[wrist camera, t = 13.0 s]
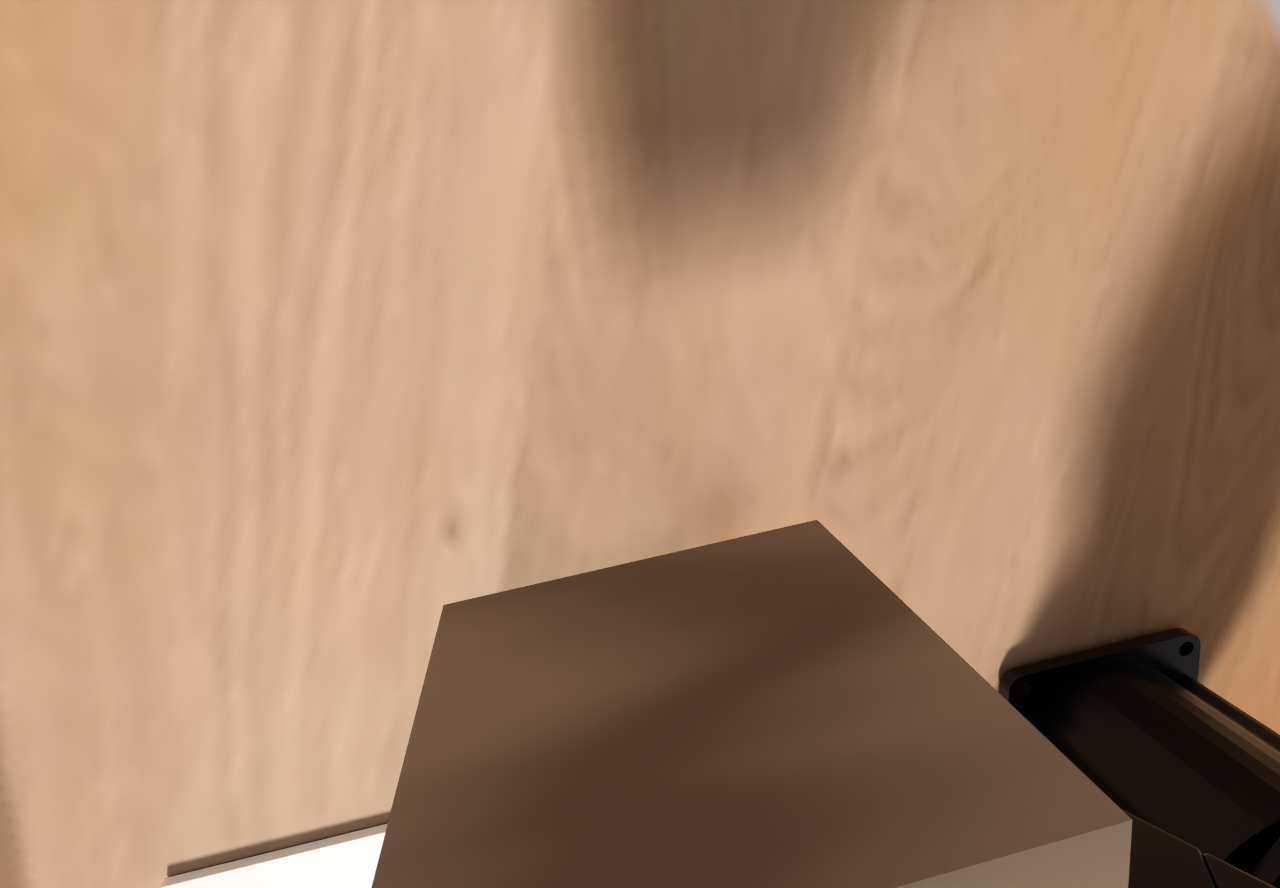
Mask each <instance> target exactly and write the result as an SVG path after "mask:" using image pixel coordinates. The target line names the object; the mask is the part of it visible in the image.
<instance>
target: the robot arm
mask: <svg viewBox="0 0 1280 888" xmlns="http://www.w3.org/2000/svg"><path fill="white" fill-rule="evenodd" d="M1200 646H1201V645H1200V640H1199V638H1198V637H1197V636H1195V635H1193V634H1192V633H1190V632H1188V631H1187V630H1185V629H1182V628H1175V629H1171V630H1167V631H1163V632H1159V633H1155V634H1151V635H1147V636H1143V637H1138V638H1134V639H1130V640H1126V641H1122V642H1118V643H1114V644H1110V645H1106V646H1102V647H1098V648H1094V649H1089V650H1085V651H1081V652H1077V653H1073V654H1069V655H1065V656H1061V657H1057V658H1053V659H1049V660H1045V661H1041V662H1036V663H1032V664H1028V665H1024V666H1020V667H1016V668H1013V669H1011V670H1009V671H1008V672H1007V673H1005V674H1004V676H1003V678H1002V679H1001V683H1000V695H1002V696H1003V697H1004V698H1005V699H1006V700H1007V701H1008V702H1009V703H1010V704H1011V705H1012V706H1013V707H1014V708H1015V709H1016V710H1017V711H1018V712H1019V713H1020V714H1022V715H1023V716H1024V717H1025V718H1026V719H1027V720H1028V721H1029V722H1030V723H1031V724H1032V725H1033V726H1034V727H1035V728H1036V729H1037V730H1038V731H1039V732H1040V733H1041V734H1043V735H1044V736H1045V737H1046V738H1047V739H1048V740H1049V741H1050V742H1051V743H1052V744H1053V745H1054V746H1055V747H1056V748H1057V749H1058V750H1059V751H1060V752H1061V753H1063V754H1064V755H1065V756H1066V757H1067V758H1068V759H1069V760H1070V761H1071V762H1072V763H1073V764H1074V765H1075V766H1076V767H1077V768H1078V769H1079V770H1080V771H1081V772H1083V773H1084V774H1085V775H1086V776H1087V777H1088V778H1089V779H1090V780H1091V781H1092V782H1093V783H1094V784H1095V785H1096V786H1097V787H1098V788H1099V789H1100V790H1101V791H1102V792H1104V793H1105V794H1106V795H1107V796H1108V797H1109V798H1110V799H1111V800H1112V801H1113V802H1114V803H1115V804H1116V805H1117V806H1118V807H1119V808H1120V809H1121V810H1122V811H1124V812H1125V813H1126V814H1127V815H1128V816H1129V817H1130V818H1131V819H1132V833H1131V850H1130V866H1129V882H1128V888H1280V735H1279V734H1277V733H1276V732H1274V731H1273V730H1271V729H1270V728H1268V727H1266V726H1265V725H1263V724H1262V723H1260V722H1259V721H1257V720H1256V719H1254V718H1253V717H1251V716H1250V715H1248V714H1246V713H1245V712H1243V711H1242V710H1240V709H1239V708H1237V707H1236V706H1234V705H1233V704H1231V703H1229V702H1228V701H1226V700H1225V699H1223V698H1222V697H1220V696H1219V695H1217V694H1216V693H1214V692H1213V691H1211V690H1209V689H1208V688H1206V687H1205V686H1203V685H1202V684H1200V683H1199V682H1197V676H1198V666H1199V656H1200ZM1020 684H1021V685H1020ZM1019 685H1020V686H1019ZM1018 686H1019V687H1018Z"/></svg>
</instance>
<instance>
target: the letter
mask: <svg viewBox="0 0 1280 888" xmlns="http://www.w3.org/2000/svg"><path fill="white" fill-rule="evenodd" d="M387 825H388V824H384V825H380V826H375V827H371V828H367V829H363V830H359V831H355V832H351V833H347V834H343V835H339V836H335V837H331V838H327V839H322V840H318V841H314V842H310V843H306V844H302V845H298V846H294V847H290V848H286V849H282V850H278V851H274V852H269V853H265V854H261V855H257V856H253V857H249V858H245V859H241V860H237V861H233V862H229V863H225V864H221V865H216V866H212V867H208V868H204V869H200V870H196V871H192V872H188V873H184V874H180V875H176V876H172V877H168V878H166V879H165V880H164V882H163V884H162V886H161V887H160V888H371V887H372V883H373V880H374V876H375V872H376V868H377V864H378V860H379V856H380V852H381V848H382V844H383V840H384V836H385V833H386V829H387Z"/></svg>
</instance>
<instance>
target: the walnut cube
mask: <svg viewBox="0 0 1280 888" xmlns="http://www.w3.org/2000/svg"><path fill="white" fill-rule="evenodd" d="M1131 833H1132V819H1131V818H1130V817H1129V816H1128V815H1127V814H1126V813H1125V812H1124V811H1122V810H1121V809H1120V808H1119V807H1118V806H1117V805H1116V804H1115V803H1114V802H1113V801H1112V800H1111V799H1110V798H1109V797H1108V796H1107V795H1106V794H1105V793H1104V792H1102V791H1101V790H1100V789H1099V788H1098V787H1097V786H1096V785H1095V784H1094V783H1093V782H1092V781H1091V780H1090V779H1089V778H1088V777H1087V776H1086V775H1085V774H1084V773H1083V772H1081V771H1080V770H1079V769H1078V768H1077V767H1076V766H1075V765H1074V764H1073V763H1072V762H1071V761H1070V760H1069V759H1068V758H1067V757H1066V756H1065V755H1064V754H1063V753H1061V752H1060V751H1059V750H1058V749H1057V748H1056V747H1055V746H1054V745H1053V744H1052V743H1051V742H1050V741H1049V740H1048V739H1047V738H1046V737H1045V736H1044V735H1043V734H1041V733H1040V732H1039V731H1038V730H1037V729H1036V728H1035V727H1034V726H1033V725H1032V724H1031V723H1030V722H1029V721H1028V720H1027V719H1026V718H1025V717H1024V716H1023V715H1022V714H1020V713H1019V712H1018V711H1017V710H1016V709H1015V708H1014V707H1013V706H1012V705H1011V704H1010V703H1009V702H1008V701H1007V700H1006V699H1005V698H1004V697H1003V696H1002V695H1000V694H999V693H998V692H997V691H996V690H995V689H994V688H993V687H992V686H991V685H990V684H989V683H988V682H987V681H986V680H985V679H984V678H983V677H982V676H980V675H979V674H978V673H977V672H976V671H975V670H974V669H973V668H972V667H971V666H970V665H969V664H968V663H967V662H966V661H965V660H964V659H963V658H962V657H961V656H959V655H958V654H957V653H956V652H955V651H954V650H953V649H952V648H951V647H950V646H949V645H948V644H947V643H946V642H945V641H944V640H943V639H942V638H941V637H939V636H938V635H937V634H936V633H935V632H934V631H933V630H932V629H931V628H930V627H929V626H928V625H927V624H926V623H925V622H924V621H923V620H922V619H921V618H919V617H918V616H917V615H916V614H915V613H914V612H913V611H912V610H911V609H910V608H909V607H908V606H907V605H906V604H905V603H904V602H903V601H902V600H901V599H900V598H898V597H897V596H896V595H895V594H894V593H893V592H892V591H891V590H890V589H889V588H888V587H887V586H886V585H885V584H884V583H883V582H882V581H881V580H880V579H878V578H877V577H876V576H875V575H874V574H873V573H872V572H871V571H870V570H869V569H868V568H867V567H866V566H865V565H864V564H863V563H862V562H861V561H860V560H858V559H857V558H856V557H855V556H854V555H853V554H852V553H851V552H850V551H849V550H848V549H847V548H846V547H845V546H844V545H843V544H842V543H841V542H840V541H838V540H837V539H836V538H835V537H834V536H833V535H832V534H831V533H830V532H829V531H828V530H827V529H826V528H825V527H824V526H823V525H822V524H821V523H820V522H819V521H817V520H814V521H810V522H806V523H801V524H797V525H792V526H788V527H784V528H779V529H775V530H771V531H766V532H762V533H757V534H753V535H749V536H744V537H740V538H735V539H731V540H727V541H722V542H718V543H714V544H709V545H705V546H700V547H696V548H692V549H687V550H683V551H679V552H674V553H670V554H665V555H661V556H657V557H652V558H648V559H644V560H639V561H635V562H630V563H626V564H622V565H617V566H613V567H609V568H604V569H600V570H595V571H591V572H587V573H582V574H578V575H573V576H569V577H565V578H560V579H556V580H552V581H547V582H543V583H538V584H534V585H530V586H525V587H521V588H517V589H512V590H508V591H503V592H499V593H495V594H490V595H486V596H482V597H477V598H473V599H468V600H464V601H460V602H455V603H451V604H447V605H444V606H443V610H442V614H441V617H440V621H439V625H438V629H437V633H436V637H435V641H434V645H433V649H432V653H431V657H430V661H429V664H428V668H427V672H426V676H425V680H424V684H423V688H422V692H421V696H420V700H419V704H418V707H417V711H416V715H415V719H414V723H413V727H412V731H411V735H410V739H409V743H408V747H407V750H406V754H405V758H404V762H403V766H402V770H401V774H400V778H399V782H398V786H397V790H396V793H395V797H394V801H393V805H392V809H391V813H390V817H389V821H388V825H387V829H386V833H385V836H384V840H383V844H382V848H381V852H380V856H379V860H378V864H377V868H376V872H375V876H374V880H373V883H372V887H371V888H1128V882H1129V866H1130V850H1131Z"/></svg>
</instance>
